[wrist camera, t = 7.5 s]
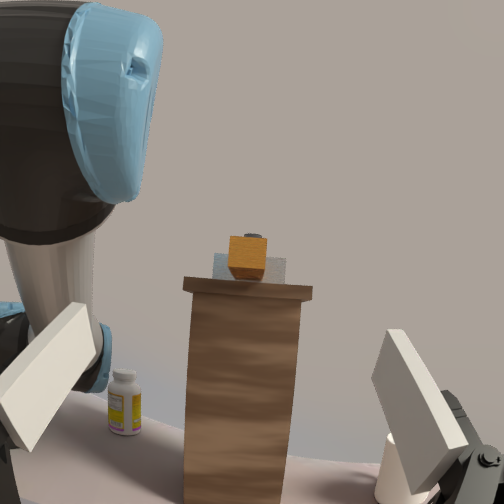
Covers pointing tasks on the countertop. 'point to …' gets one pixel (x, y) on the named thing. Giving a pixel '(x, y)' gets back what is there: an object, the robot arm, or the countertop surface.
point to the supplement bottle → (124, 403)
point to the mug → (394, 479)
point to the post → (239, 389)
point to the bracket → (249, 262)
